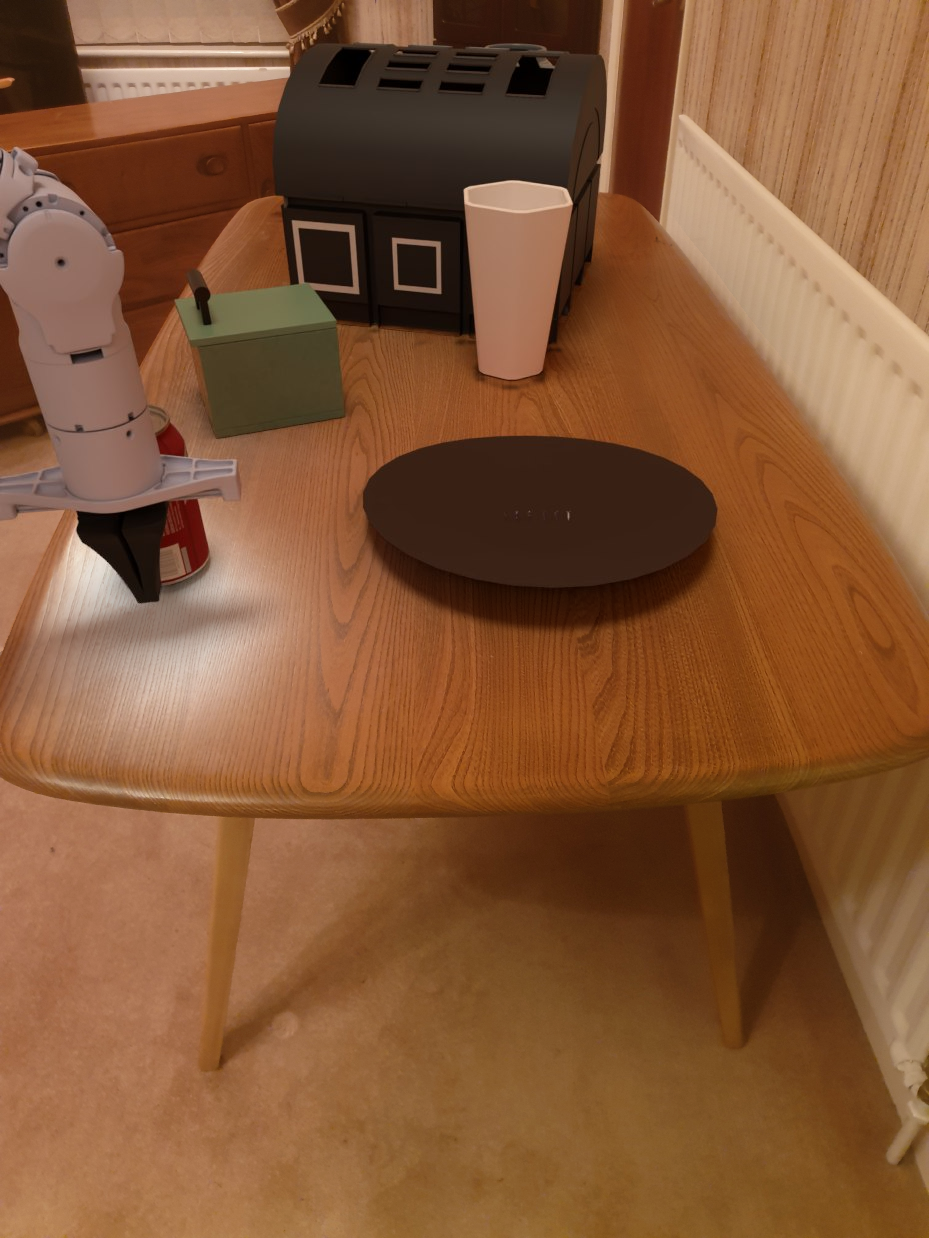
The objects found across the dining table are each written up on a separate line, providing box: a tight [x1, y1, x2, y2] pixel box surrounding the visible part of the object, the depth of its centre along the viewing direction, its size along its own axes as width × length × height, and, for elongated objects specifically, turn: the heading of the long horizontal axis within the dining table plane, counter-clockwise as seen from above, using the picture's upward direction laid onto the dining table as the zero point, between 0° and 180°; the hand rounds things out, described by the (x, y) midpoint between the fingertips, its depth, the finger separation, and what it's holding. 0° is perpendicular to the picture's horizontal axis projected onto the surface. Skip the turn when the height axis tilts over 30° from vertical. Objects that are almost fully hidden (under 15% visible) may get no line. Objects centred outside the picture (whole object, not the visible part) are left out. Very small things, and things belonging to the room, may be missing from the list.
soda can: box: [148, 403, 210, 587], centre depth 61 cm, size 7×7×12 cm
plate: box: [362, 435, 718, 589], centre depth 69 cm, size 28×28×4 cm
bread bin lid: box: [174, 268, 338, 348], centre depth 79 cm, size 13×10×4 cm
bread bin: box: [189, 327, 346, 439], centre depth 83 cm, size 12×10×9 cm
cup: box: [464, 181, 573, 381], centre depth 88 cm, size 11×10×17 cm
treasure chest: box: [272, 41, 608, 345], centre depth 104 cm, size 32×32×26 cm
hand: (149, 593), depth 59 cm, fingers closed
